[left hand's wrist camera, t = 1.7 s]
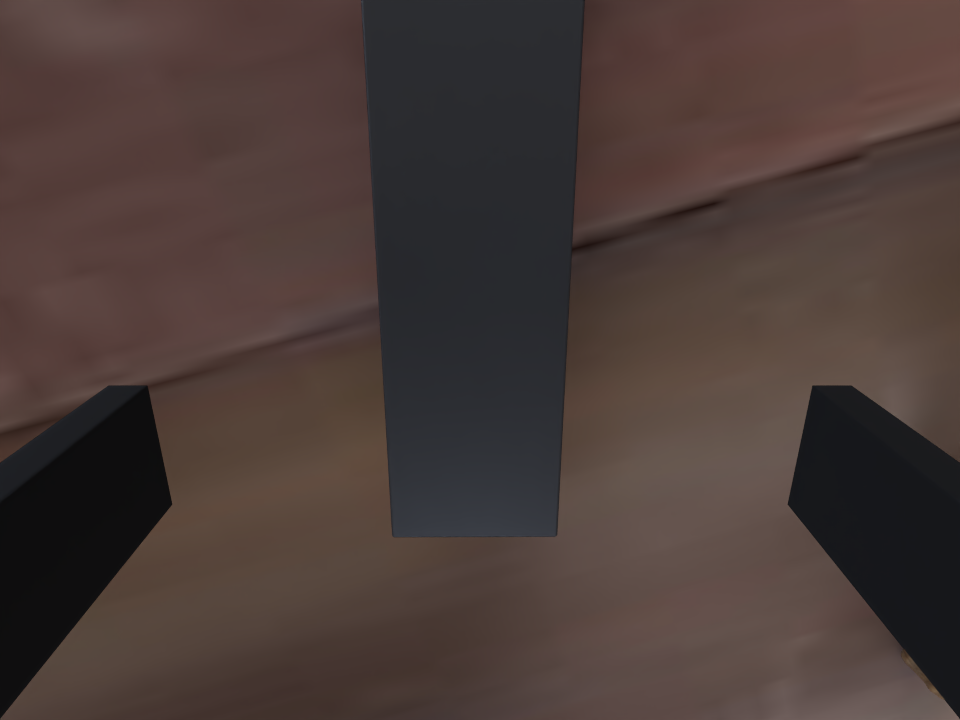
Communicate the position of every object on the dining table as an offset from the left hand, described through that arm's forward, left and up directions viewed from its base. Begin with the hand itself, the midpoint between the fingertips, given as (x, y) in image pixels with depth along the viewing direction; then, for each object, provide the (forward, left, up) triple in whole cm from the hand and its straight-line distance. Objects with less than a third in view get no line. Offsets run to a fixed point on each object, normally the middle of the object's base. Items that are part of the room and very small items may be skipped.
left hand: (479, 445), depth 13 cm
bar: (+7, 0, -12) cm, 14 cm away
